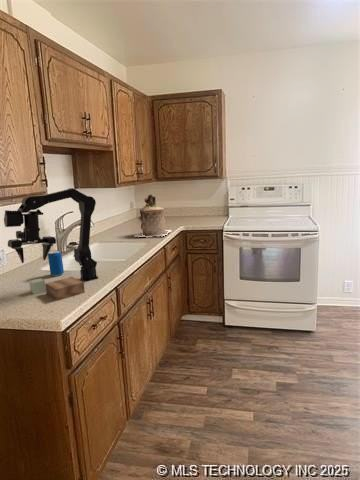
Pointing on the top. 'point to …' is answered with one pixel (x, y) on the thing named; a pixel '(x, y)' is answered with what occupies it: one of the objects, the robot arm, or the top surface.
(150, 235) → the cookie jar
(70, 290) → the walnut block
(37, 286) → the sage green block
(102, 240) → the top surface
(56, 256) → the beverage can
